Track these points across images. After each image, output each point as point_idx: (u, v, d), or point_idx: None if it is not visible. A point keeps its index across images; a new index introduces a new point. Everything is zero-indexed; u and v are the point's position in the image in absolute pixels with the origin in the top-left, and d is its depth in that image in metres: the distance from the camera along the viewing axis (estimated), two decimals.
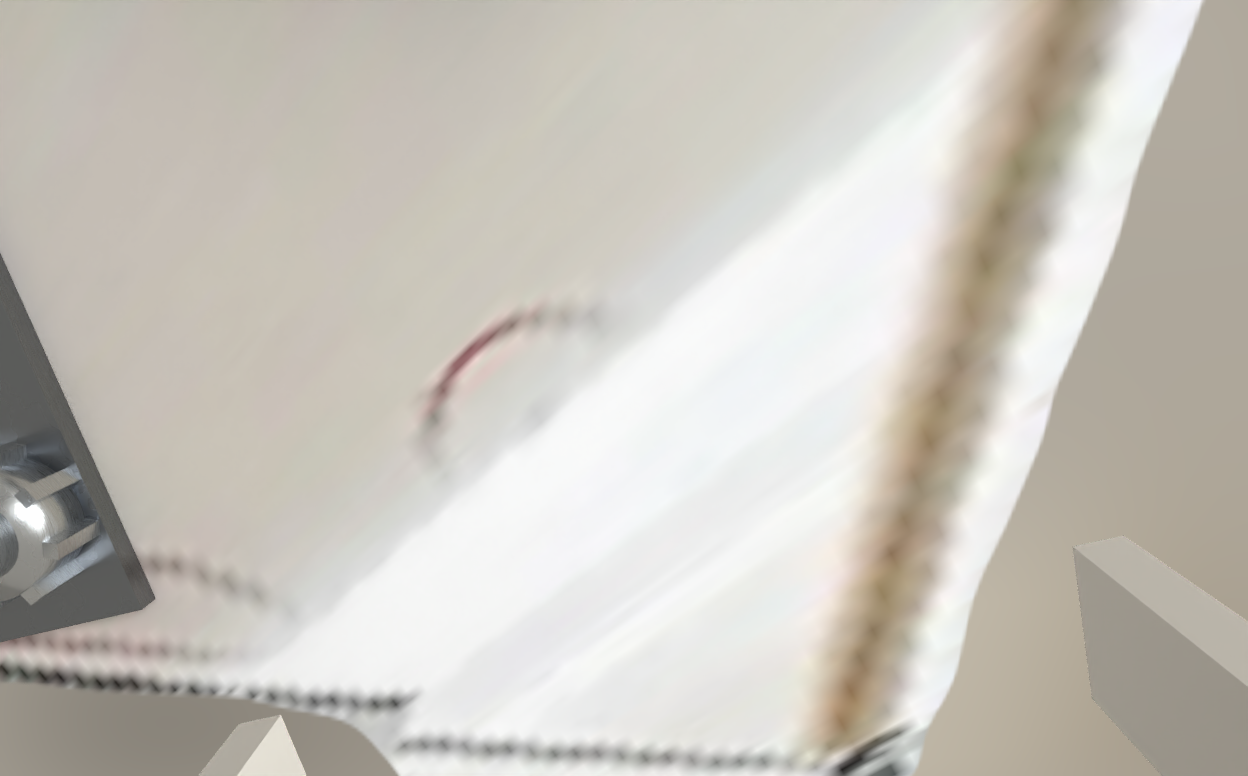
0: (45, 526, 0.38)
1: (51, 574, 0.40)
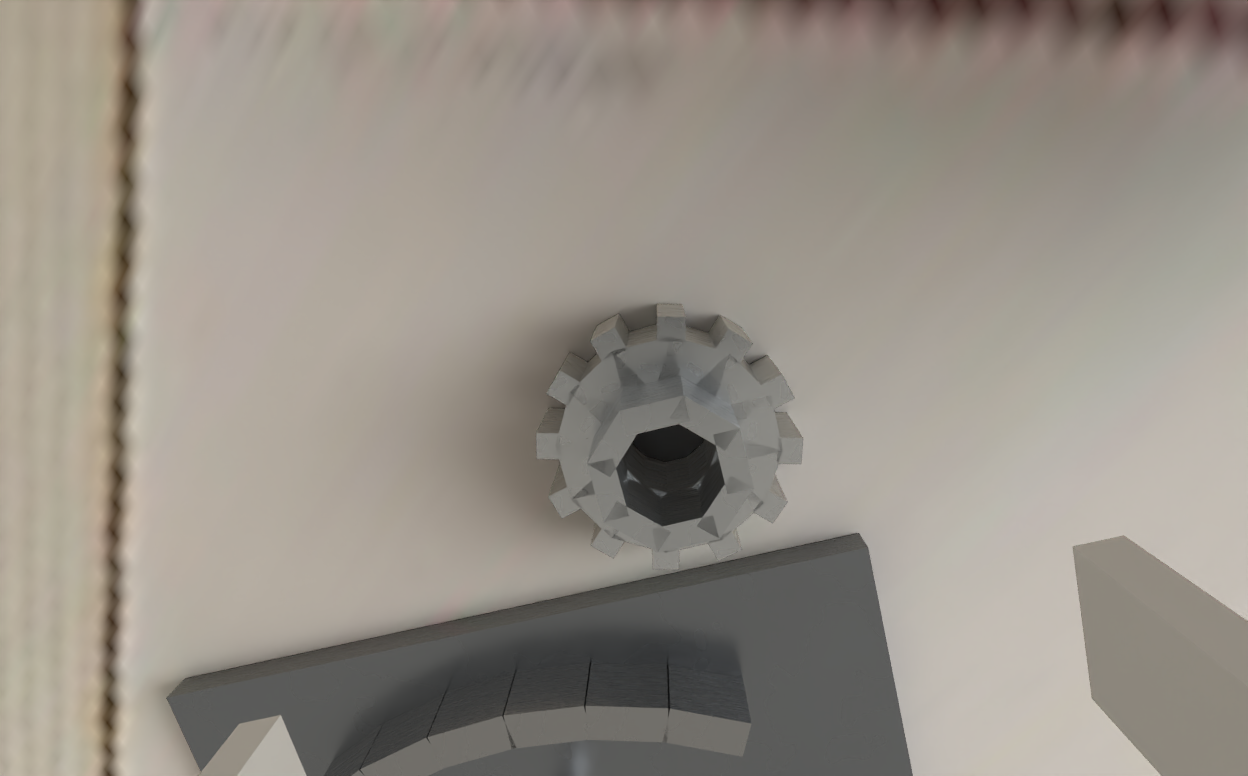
0: None
1: None
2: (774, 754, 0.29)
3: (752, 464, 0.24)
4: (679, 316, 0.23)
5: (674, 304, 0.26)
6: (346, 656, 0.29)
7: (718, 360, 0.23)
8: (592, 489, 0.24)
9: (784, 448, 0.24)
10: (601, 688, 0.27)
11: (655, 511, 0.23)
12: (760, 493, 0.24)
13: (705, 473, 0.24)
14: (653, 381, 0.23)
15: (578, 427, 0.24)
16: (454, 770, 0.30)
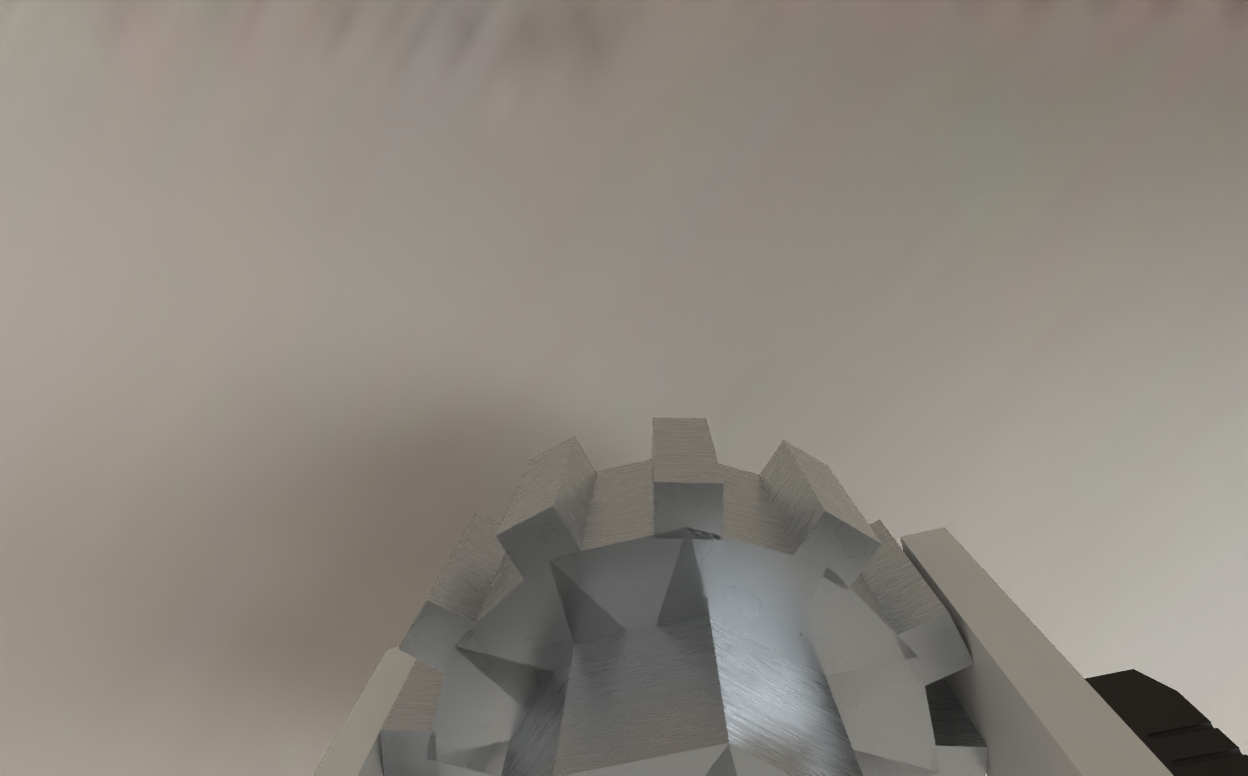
0: None
1: None
2: None
3: None
4: (707, 480, 0.10)
5: (689, 420, 0.12)
6: None
7: (799, 581, 0.10)
8: None
9: (944, 767, 0.10)
10: None
11: None
12: None
13: None
14: (645, 625, 0.10)
15: (475, 719, 0.11)
16: None
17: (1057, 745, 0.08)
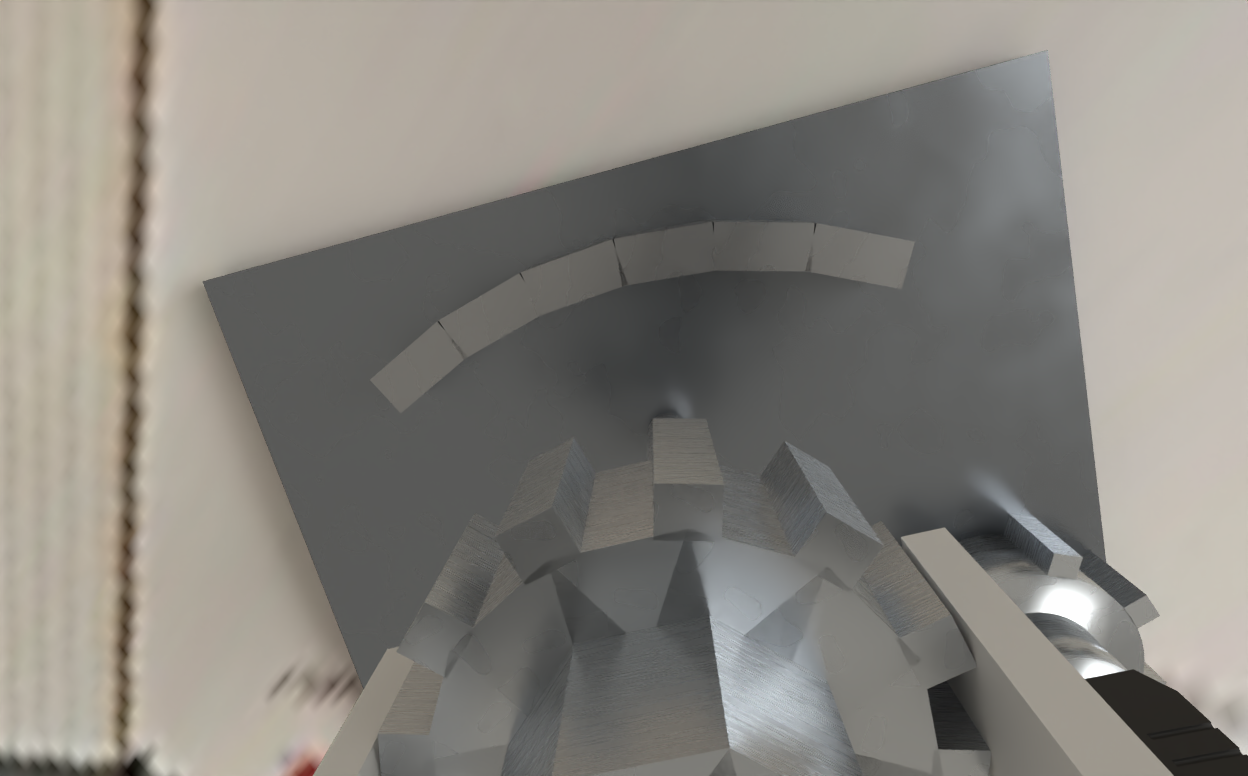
0: None
1: None
2: (920, 340, 0.24)
3: None
4: (707, 481, 0.10)
5: (690, 421, 0.12)
6: (416, 223, 0.24)
7: (800, 583, 0.10)
8: None
9: (946, 771, 0.10)
10: None
11: None
12: None
13: None
14: (645, 628, 0.10)
15: (473, 723, 0.10)
16: (540, 372, 0.25)
17: (1057, 746, 0.08)
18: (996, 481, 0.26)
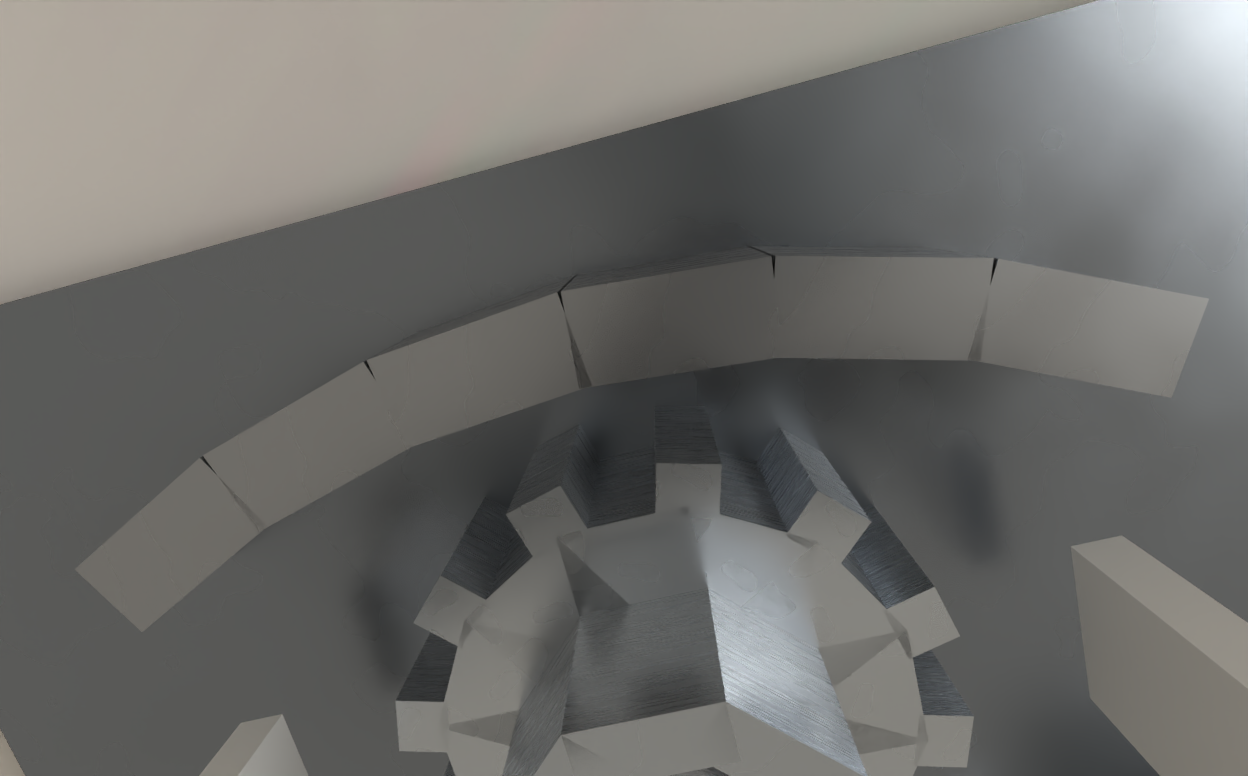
0: None
1: None
2: (1146, 472, 0.13)
3: None
4: (706, 461, 0.10)
5: (689, 408, 0.13)
6: (196, 251, 0.13)
7: (793, 557, 0.10)
8: None
9: (931, 736, 0.11)
10: (798, 251, 0.11)
11: None
12: None
13: None
14: (647, 600, 0.11)
15: (486, 690, 0.11)
16: (438, 523, 0.14)
17: None
18: None
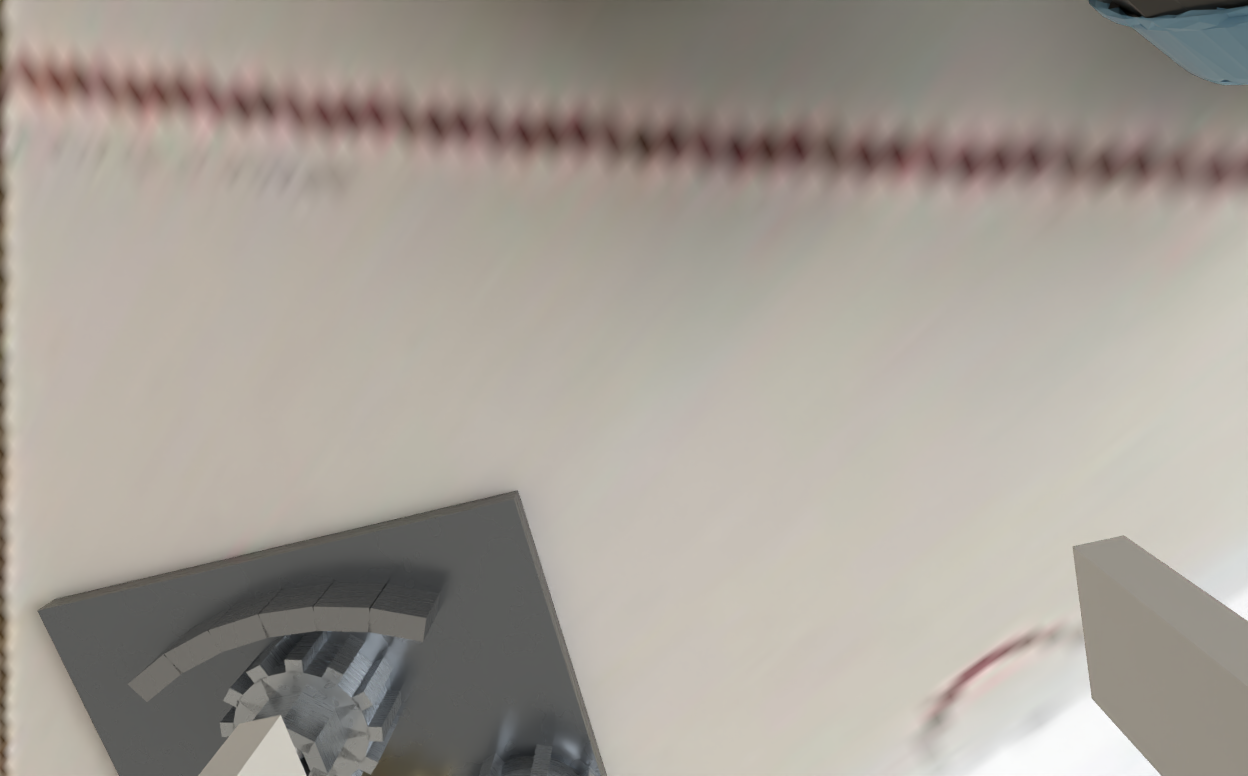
0: None
1: None
2: (467, 648, 0.41)
3: (353, 741, 0.39)
4: (298, 658, 0.38)
5: None
6: (163, 580, 0.41)
7: (324, 683, 0.38)
8: None
9: (371, 732, 0.39)
10: (330, 597, 0.39)
11: None
12: (360, 757, 0.39)
13: None
14: (286, 695, 0.38)
15: (245, 719, 0.39)
16: (244, 662, 0.42)
17: None
18: (525, 726, 0.42)
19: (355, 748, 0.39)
